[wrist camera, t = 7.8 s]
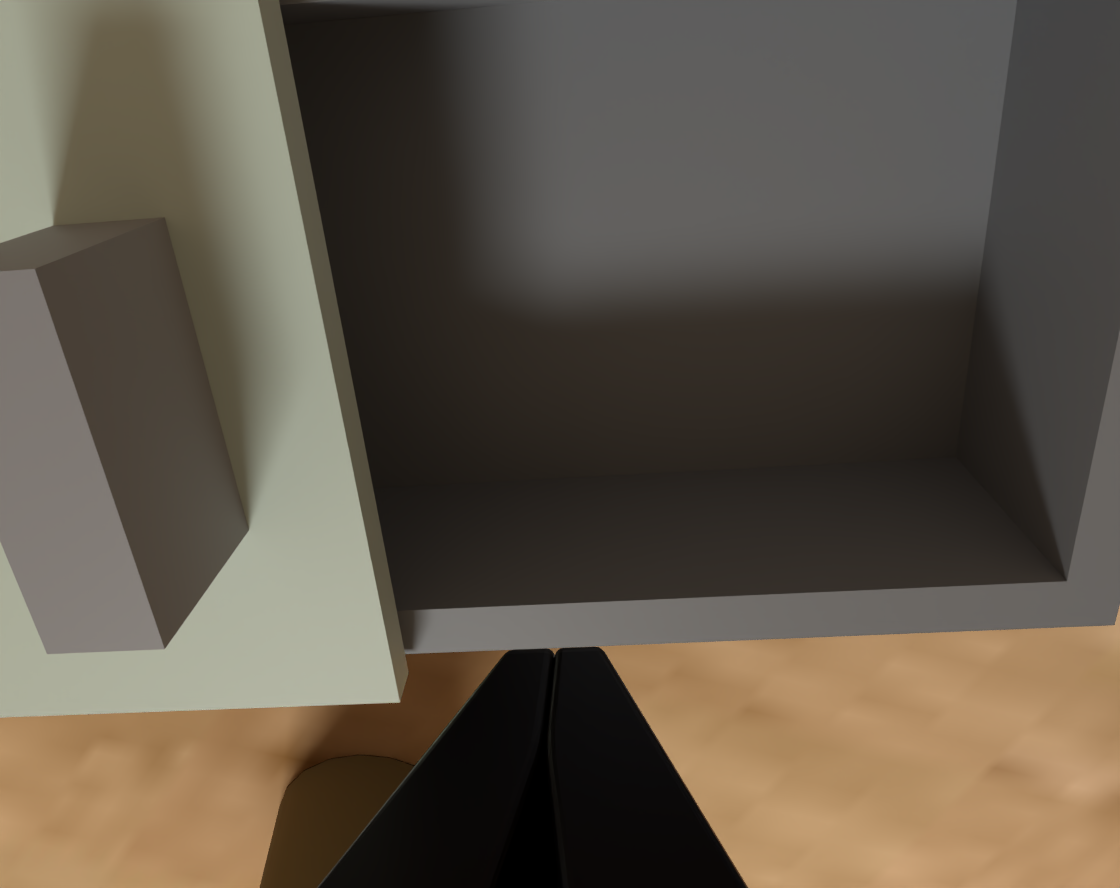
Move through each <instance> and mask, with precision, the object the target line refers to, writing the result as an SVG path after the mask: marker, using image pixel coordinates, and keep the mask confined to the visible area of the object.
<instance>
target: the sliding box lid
mask: <svg viewBox="0 0 1120 888" xmlns="http://www.w3.org/2000/svg"><path fill="white" fill-rule="evenodd" d="M408 673H409V672H408V666H407V661H406V656H405V651H404V646H403V641H402V635H401V630H400V625H399V620H398V615H397V609H396V604H395V599H394V594H393V589H392V584H391V578H390V573H389V568H388V563H387V558H386V553H385V547H384V542H383V537H382V532H381V527H380V521H379V516H378V511H377V506H376V501H375V496H374V490H373V485H372V480H371V475H370V470H369V464H368V459H367V454H366V449H365V444H364V439H363V433H362V428H361V423H360V418H359V413H358V408H357V402H356V397H355V392H354V387H353V382H352V376H351V371H350V366H349V361H348V356H347V351H346V345H345V340H344V335H343V330H342V325H341V319H340V314H339V309H338V304H337V299H336V294H335V288H334V283H333V278H332V273H331V268H330V263H329V257H328V252H327V247H326V242H325V237H324V231H323V226H322V221H321V216H320V211H319V206H318V200H317V195H316V190H315V185H314V180H313V175H312V169H311V164H310V159H309V154H308V149H307V143H306V138H305V133H304V128H303V123H302V118H301V112H300V107H299V102H298V97H297V92H296V86H295V81H294V76H293V71H292V66H291V61H290V55H289V50H288V45H287V40H286V35H285V30H284V24H283V19H282V14H281V9H280V4H279V0H0V717H26V716H53V715H80V714H107V713H133V712H160V711H187V710H214V709H241V708H268V707H295V706H321V705H348V704H375V703H400V701H401V697H402V694H403V691H404V687H405V684H406V680H407V677H408Z"/></svg>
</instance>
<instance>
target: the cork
mask: <svg viewBox="0 0 1120 888" xmlns="http://www.w3.org/2000/svg"><path fill="white" fill-rule="evenodd" d="M413 767H414V766H413V765H410V764H407V763H404V762H401V761H398V760H395V759H392V758H386V757H375V756H363V755H355V756H349V757H342V758H336V759H329V760H327V761H324V762H322V763H320V764H318V765H316V766H314V767H311V768H309V769H307V770H305V771H303V772H302V773H301V774H300V775H299V776H298V777H297V778H296V779H295V780H294V781H293V782H292V783H291V784H290V785H289V786H288V787H287V789H286V792H285V794H284V797H283V799H282V802H281V804H280V807H279V811H278V815H277V819H276V823H275V827H274V831H273V835H272V839H271V843H270V848H269V852H268V856H267V860H266V864H265V868H264V872H263V876H262V880H261V884H260V888H317V887H318V886H319V884H320V883H321V882H322V881H323V879H324V878H325V877H326V876H327V874H328V873H329V872H330V871H331V869H332V868H333V867H334V866H335V865H336V863H337V862H338V861H339V860H340V858H341V857H342V856H343V855H344V853H345V852H346V851H347V850H348V848H349V847H350V846H351V845H352V843H353V842H354V841H355V840H356V838H357V837H358V836H359V835H360V833H361V832H362V831H363V830H364V828H365V827H366V826H367V825H368V823H369V822H370V821H371V820H372V818H373V817H374V816H375V815H376V814H377V812H378V811H379V810H380V809H381V807H382V806H383V805H384V804H385V802H386V801H387V800H388V799H389V797H390V796H391V795H392V794H393V792H394V791H395V790H396V789H397V787H398V786H399V785H400V784H401V782H402V781H403V780H404V779H405V777H406V776H407V775H408V774H409V772H410V771H411V770H412V769H413Z"/></svg>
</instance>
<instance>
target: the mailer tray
mask: <svg viewBox="0 0 1120 888" xmlns="http://www.w3.org/2000/svg"><path fill="white" fill-rule="evenodd" d="M279 4H280V9H281V14H282V19H283V24H284V30H285V35H286V40H287V45H288V50H289V55H290V61H291V66H292V71H293V76H294V81H295V86H296V92H297V97H298V102H299V107H300V112H301V118H302V123H303V128H304V133H305V138H306V143H307V149H308V154H309V159H310V164H311V169H312V175H313V180H314V185H315V190H316V195H317V200H318V206H319V211H320V216H321V221H322V226H323V231H324V237H325V242H326V247H327V252H328V257H329V263H330V268H331V273H332V278H333V283H334V288H335V294H336V299H337V304H338V309H339V314H340V319H341V325H342V330H343V335H344V340H345V345H346V351H347V356H348V361H349V366H350V371H351V376H352V382H353V387H354V392H355V397H356V402H357V408H358V413H359V418H360V423H361V428H362V433H363V439H364V444H365V449H366V454H367V459H368V464H369V470H370V475H371V480H372V485H373V490H374V496H375V501H376V506H377V511H378V516H379V521H380V527H381V532H382V537H383V542H384V547H385V553H386V558H387V563H388V568H389V573H390V578H391V584H392V589H393V594H394V599H395V604H396V609H397V615H398V620H399V625H400V630H401V635H402V641H403V646H404V651H405V654H419V653H444V652H468V651H493V650H515V649H541V648H566V647H590V646H615V645H639V644H664V643H688V642H713V641H737V640H761V639H786V638H810V637H835V636H859V635H884V634H908V633H933V632H957V631H982V630H1006V629H1030V628H1055V627H1079V626H1104V625H1115V621H1116V617H1117V613H1118V609H1119V605H1120V0H279Z"/></svg>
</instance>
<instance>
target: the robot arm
mask: <svg viewBox="0 0 1120 888" xmlns="http://www.w3.org/2000/svg"><path fill="white" fill-rule="evenodd" d="M317 888H748V887H747V885H746V884H745V882H744V880H743V879H742V877H741V875H740V874H739V872H738V870H737V869H736V867H735V866H734V864H733V862H732V861H731V859H730V857H729V856H728V854H727V852H726V851H725V849H724V847H723V846H722V844H721V843H720V841H719V839H718V838H717V836H716V834H715V833H714V831H713V829H712V828H711V826H710V824H709V823H708V821H707V820H706V818H705V816H704V815H703V813H702V811H701V810H700V808H699V806H698V805H697V803H696V801H695V800H694V798H693V797H692V795H691V793H690V792H689V790H688V788H687V787H686V785H685V783H684V782H683V780H682V778H681V777H680V775H679V774H678V772H677V770H676V769H675V767H674V765H673V764H672V762H671V760H670V759H669V757H668V755H667V754H666V752H665V751H664V749H663V747H662V746H661V744H660V742H659V741H658V739H657V737H656V736H655V734H654V732H653V731H652V729H651V728H650V726H649V724H648V723H647V721H646V719H645V718H644V716H643V714H642V713H641V711H640V709H639V708H638V706H637V705H636V703H635V701H634V700H633V698H632V696H631V695H630V693H629V691H628V690H627V688H626V686H625V685H624V683H623V682H622V680H621V678H620V677H619V675H618V673H617V672H616V670H615V668H614V667H613V665H612V663H611V662H610V660H609V659H608V657H607V655H606V654H605V652H604V651H603V650H602V649H600V648H599V647H575V648H561V649H559V650H558V651H557V652H556V654H555V655H554V653H553V652H552V651H551V650H550V649H546V648H545V649H515V650H510V651H508V652H507V653H505V654H504V656H503V657H502V658H501V659H500V660H499V662H498V663H497V664H496V665H495V667H494V668H493V669H492V670H491V672H490V673H489V674H488V675H487V677H486V678H485V679H484V680H483V682H482V683H481V684H480V685H479V687H478V688H477V689H476V690H475V692H474V693H473V694H472V695H471V697H470V698H469V699H468V700H467V702H466V703H465V704H464V705H463V707H462V708H461V709H460V710H459V711H458V713H457V714H456V715H455V716H454V718H453V719H452V720H451V721H450V723H449V724H448V725H447V726H446V728H445V729H444V730H443V731H442V733H441V734H440V735H439V736H438V738H437V739H436V740H435V741H434V743H433V744H432V745H431V746H430V748H429V749H428V750H427V751H426V753H425V754H424V755H423V756H422V758H421V759H420V760H419V761H418V763H417V764H416V765H415V766H414V767H413V769H412V770H411V771H410V772H409V774H408V775H407V776H406V777H405V779H404V780H403V781H402V782H401V784H400V785H399V786H398V787H397V789H396V790H395V791H394V792H393V794H392V795H391V796H390V797H389V799H388V800H387V801H386V802H385V804H384V805H383V806H382V807H381V809H380V810H379V811H378V812H377V814H376V815H375V816H374V817H373V818H372V820H371V821H370V822H369V823H368V825H367V826H366V827H365V828H364V830H363V831H362V832H361V833H360V835H359V836H358V837H357V838H356V840H355V841H354V842H353V843H352V845H351V846H350V847H349V848H348V850H347V851H346V852H345V853H344V855H343V856H342V857H341V858H340V860H339V861H338V862H337V863H336V865H335V866H334V867H333V868H332V869H331V871H330V872H329V873H328V874H327V876H326V877H325V878H324V879H323V881H322V882H321V883H320V884H319V886H318V887H317Z"/></svg>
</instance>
